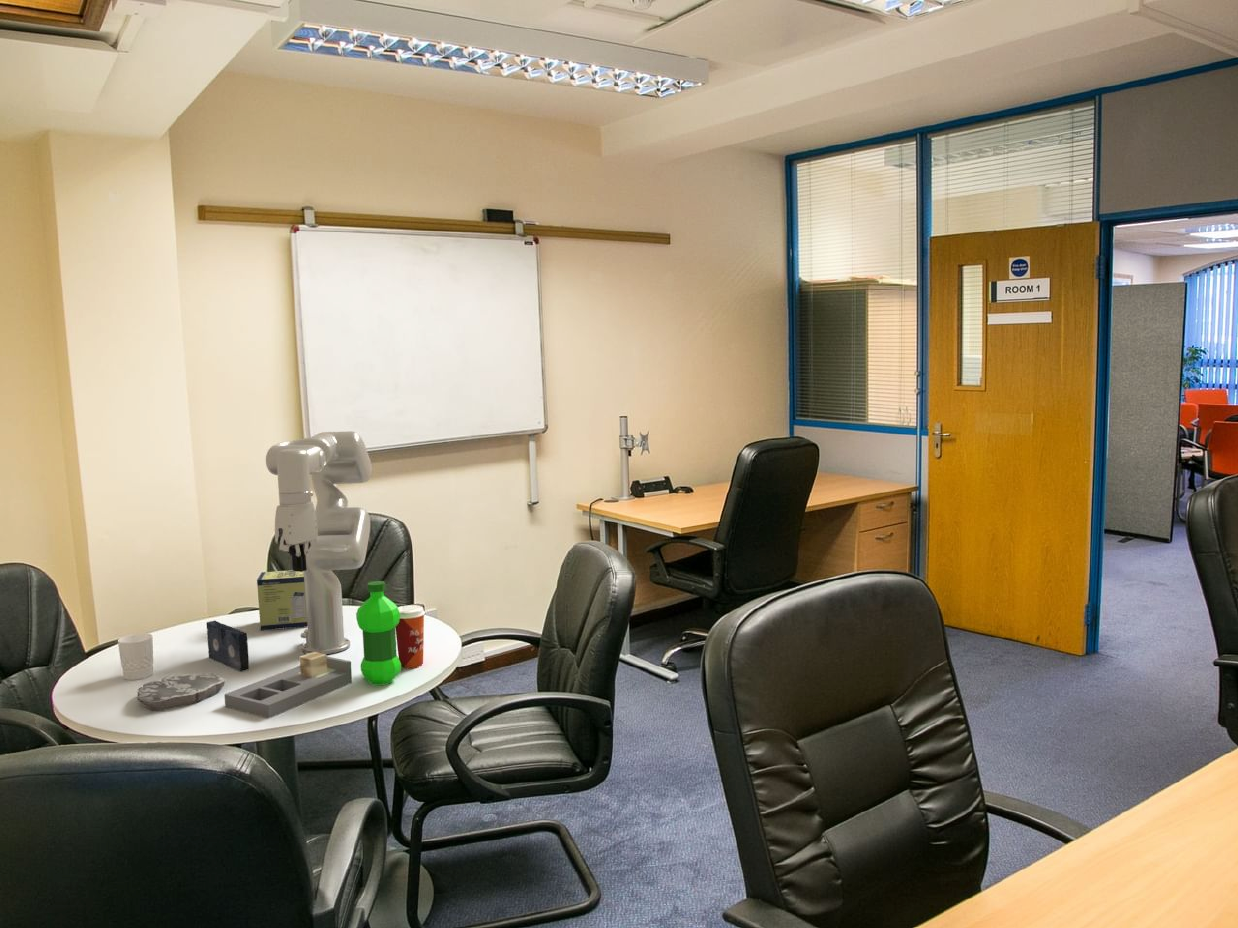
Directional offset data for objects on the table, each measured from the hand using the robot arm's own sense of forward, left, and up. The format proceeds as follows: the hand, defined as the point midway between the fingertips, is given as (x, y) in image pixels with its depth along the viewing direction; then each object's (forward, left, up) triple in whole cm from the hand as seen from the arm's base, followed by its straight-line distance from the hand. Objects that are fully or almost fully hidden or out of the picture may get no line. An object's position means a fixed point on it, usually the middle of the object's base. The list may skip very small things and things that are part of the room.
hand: (299, 570), depth 232 cm
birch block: (+8, -4, -24) cm, 26 cm away
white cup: (-39, -20, -27) cm, 52 cm away
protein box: (-41, +30, -27) cm, 58 cm away
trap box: (+8, -12, -27) cm, 30 cm away
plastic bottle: (+21, +5, -27) cm, 35 cm away
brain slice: (-16, -25, -28) cm, 41 cm away
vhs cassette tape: (-26, -3, -27) cm, 38 cm away
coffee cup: (+19, +18, -27) cm, 38 cm away
